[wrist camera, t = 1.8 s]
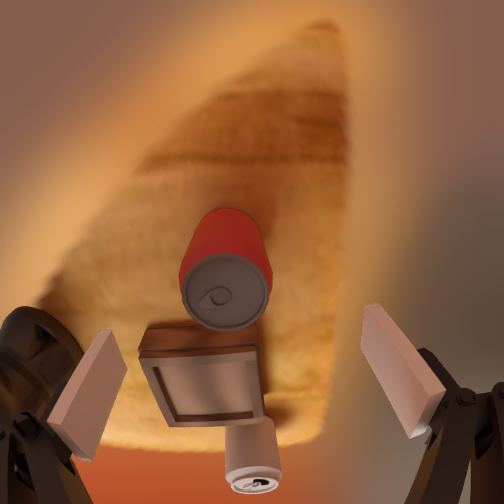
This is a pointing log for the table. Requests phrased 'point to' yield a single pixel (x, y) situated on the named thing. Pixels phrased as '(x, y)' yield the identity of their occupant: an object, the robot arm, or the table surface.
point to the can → (252, 457)
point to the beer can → (226, 272)
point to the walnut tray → (204, 375)
